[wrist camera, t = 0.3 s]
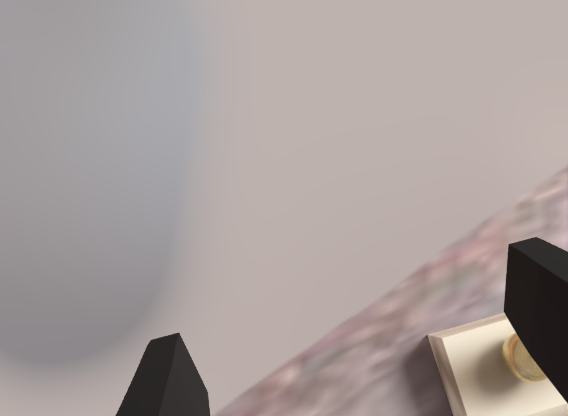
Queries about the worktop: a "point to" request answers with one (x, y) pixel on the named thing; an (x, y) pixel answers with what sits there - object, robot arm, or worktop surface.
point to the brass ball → (520, 361)
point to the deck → (488, 373)
